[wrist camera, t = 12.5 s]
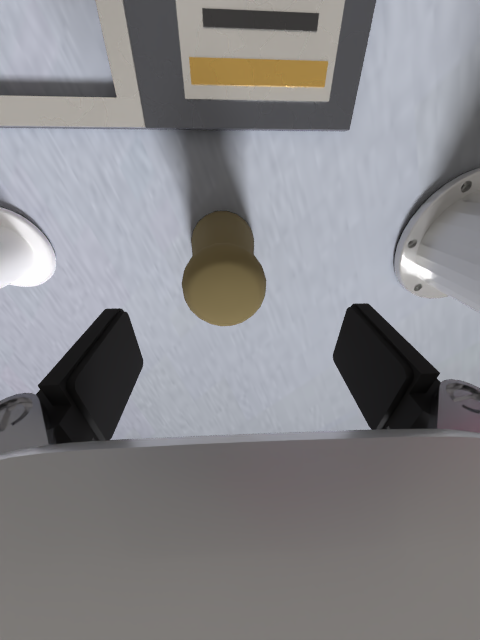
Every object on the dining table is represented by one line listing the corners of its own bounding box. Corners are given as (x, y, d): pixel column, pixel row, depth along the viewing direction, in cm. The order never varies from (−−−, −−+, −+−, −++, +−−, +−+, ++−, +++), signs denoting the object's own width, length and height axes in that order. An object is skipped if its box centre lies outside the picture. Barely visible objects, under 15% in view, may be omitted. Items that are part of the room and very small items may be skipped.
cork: (257, 268, 24) (281, 331, 14) (200, 279, 24) (188, 348, 15) (249, 204, 20) (273, 234, 11) (183, 217, 20) (153, 257, 11)
